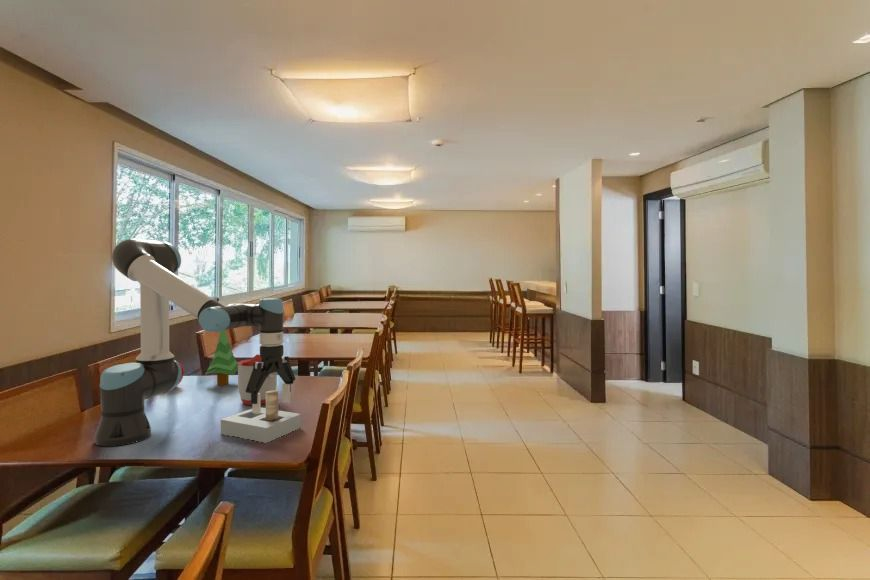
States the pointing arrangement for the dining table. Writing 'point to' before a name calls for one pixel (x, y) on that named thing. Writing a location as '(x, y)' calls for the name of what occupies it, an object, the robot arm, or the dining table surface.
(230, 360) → the decorative tree
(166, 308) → the robot arm
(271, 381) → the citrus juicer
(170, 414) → the dining table surface
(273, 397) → the peg
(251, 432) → the board
